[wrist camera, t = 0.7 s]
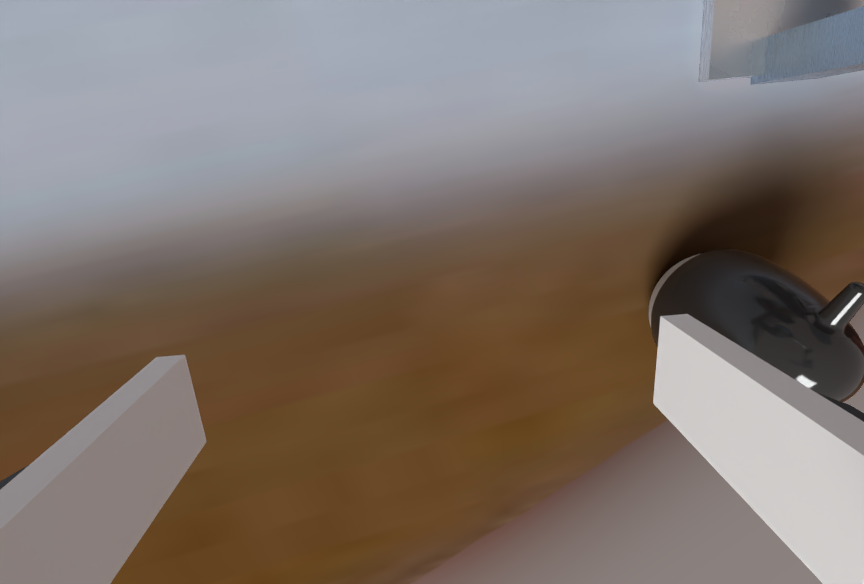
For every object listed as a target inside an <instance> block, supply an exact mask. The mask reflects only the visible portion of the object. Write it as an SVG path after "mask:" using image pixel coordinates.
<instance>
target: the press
mask: <svg viewBox="0 0 864 584" xmlns="http://www.w3.org/2000/svg"><path fill="white" fill-rule="evenodd" d="M862 70H864V0H705V1H704V15H703V29H702V44H701V58H700V72H699V82H705V81H716V80H727V79H737V78H748V77H752V78H751V84H761V83H772V82H782V81H793V80H804V79H815V78H821V77H827V76H833V75H839V74H844V73H850V72H856V71H862Z"/></svg>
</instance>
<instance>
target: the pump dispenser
mask: <svg viewBox="0 0 864 584" xmlns="http://www.w3.org/2000/svg"><path fill="white" fill-rule="evenodd" d="M863 304H864V284H863V283H860V282H852V283H850V284H848V285H847V286H846V287H845V288H844V289H843V290H842V291H841V292H840V293H839V294H838V295H837V296H836V297H835V298H834V299H833V300H832V301H829V300H828V299H826V298H825V297H824V296H823V295H822V294H821V293H820V292H818V291H817V290H816V289H815V288H814V287H812V286H811V285H810V284H808V283H807V282H806V281H804V280H803V279H801V278H800V277H798V276H797V275H795V274H794V273H792V272H790V271H789V270H787V269H785V268H783V267H782V266H780V265H778V264H776V263H774V262H772V261H770V260H768V259H766V258H764V257H761V256H759V255H756V254H753V253H750V252H747V251H743V250H738V249H718V250H712V251H708V252H705V253H702V254H698V255H694V256H691V257H689V258H686V259H684V260H682V261H680V262H679V263H677V264H676V265H674V266H673V267H671V268H670V269H669V270H668V271H667V272H666V273H665V274H664V275H663V276H662V277H661V279H660V280H659V281H658V283H657V284H656V286H655V288H654V290H653V292H652V295H651V298H650V303H649V322H650V326H651V330H652V335H653V338H654V341H655V343H656V345H657V347H658V339H659V327H660V316H668V315H680V314H688V315H690V316H692V317H693V318H695V319H697V320H698V321H700V322H702V323H703V324H705V325H706V326H708V327H710V328H711V329H713V330H715V331H716V332H718V333H719V334H721V335H723V336H724V337H726V338H728V339H729V340H731V341H733V342H734V343H736V344H737V345H739V346H741V347H742V348H744V349H746V350H747V351H749V352H751V353H752V354H754V355H755V356H757V357H759V358H760V359H762V360H764V361H765V362H767V363H769V364H770V365H772V366H773V367H775V368H777V369H778V370H780V371H782V372H783V373H785V374H786V375H788V376H790V377H791V378H793V379H795V380H796V381H798V382H800V383H801V384H803V385H804V386H806V387H808V388H809V389H811V390H813V391H814V392H816V393H818V394H819V393H820V394H822V395H825V396H827V397H830V398H833V399H835V400H838V401H840V402H845V401H846V400H848V399H850V398H851V397H852V396H854V395H855V394H856V393H857V392H858V390H859V389H860V388H861V387H862V385H863V383H864V345H863V343H862V341H861V339H860V337H859V335H858V334H857V332H856V331H855V329H854V328H853V326H852V325H851V324H850V323H849V322H850V321H851V319H852V318H853V317H854V316H855V314H856V313H857V312H858V310H859V309H860V308H861V307H862V305H863Z"/></svg>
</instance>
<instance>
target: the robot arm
mask: <svg viewBox="0 0 864 584" xmlns="http://www.w3.org/2000/svg"><path fill="white" fill-rule="evenodd" d="M653 404H654V405H655V406H656V407H657V408H658V409H659V410H660V411H661V412H662V413H663V414H664V415H665V416H666V417H667V418H668V419H669V421H670V422H671V423H672V424H673V425H674V426H675V427H676V428H677V429H678V430H679V431H680V432H681V433H682V434H683V435H684V436H685V438H687V440H688V441H689V442H690V443H691V444H692V445H693V446H694V447H695V448H696V449H697V450H698V451H699V452H700V453H701V454H702V456H703V457H704V458H705V459H706V460H707V461H708V462H709V463H710V464H711V465H712V466H713V467H714V468H715V469H716V470H717V472H718V473H719V474H720V475H721V476H722V477H723V478H724V479H725V480H726V481H727V482H728V483H729V484H730V485H731V486H732V487H733V489H734V490H735V491H736V492H737V493H738V494H739V495H740V496H741V497H742V498H743V499H744V500H745V501H746V502H747V503H748V504H749V506H750V507H751V508H752V509H753V510H754V511H755V512H756V513H757V514H758V515H759V516H760V517H761V518H762V519H763V520H764V522H766V524H767V525H768V526H769V527H770V528H771V529H772V530H773V531H774V532H775V533H776V534H777V535H778V536H779V537H780V538H781V540H782V541H783V542H784V543H785V544H786V545H787V546H788V547H789V548H790V549H791V550H792V551H793V552H794V553H795V554H796V556H797V557H798V558H799V559H800V560H801V561H802V562H803V563H804V564H805V565H806V566H807V567H808V568H809V569H810V570H811V571H812V572H813V573H814V575H816V577H817V578H818V579H819V580H820V581H821V582H822V583H823V584H864V413H862V412H861V411H859V410H857V409H855V408H854V407H852V406H850V405H848V404H846V403H843V402H840V401H838V400H835V399H833V398H830V397H827V396H825V395H822V394H820V393H819V394H818V393H816V392H814V391H813V390H811V389H809V388H808V387H806V386H804V385H803V384H801V383H800V382H798V381H796V380H795V379H793V378H791V377H790V376H788V375H786V374H785V373H783V372H782V371H780V370H778V369H777V368H775V367H773V366H772V365H770V364H769V363H767V362H765V361H764V360H762V359H760V358H759V357H757V356H755V355H754V354H752V353H751V352H749V351H747V350H746V349H744V348H742V347H741V346H739V345H737V344H736V343H734V342H733V341H731V340H729V339H728V338H726V337H724V336H723V335H721V334H719V333H718V332H716V331H715V330H713V329H711V328H710V327H708V326H706V325H705V324H703V323H702V322H700V321H698V320H697V319H695V318H693V317H692V316H690V315H688V314H680V315H668V316H660V327H659V339H658V351H657V363H656V375H655V388H654V400H653ZM205 443H206V438H205V434H204V430H203V426H202V422H201V418H200V414H199V410H198V405H197V401H196V397H195V393H194V389H193V385H192V381H191V377H190V373H189V369H188V365H187V361H186V357H185V355H178V356H165V357H156V358H155V359H154V360H153V361H151V362H150V363H149V364H148V365H147V366H146V367H144V368H143V369H142V370H141V371H140V372H138V373H137V374H136V375H135V376H134V377H133V378H131V379H130V380H129V381H128V382H127V383H126V384H124V385H123V386H122V387H121V388H120V389H118V390H117V391H116V392H115V393H114V394H113V395H111V396H110V397H109V398H108V399H107V400H105V401H104V402H103V403H102V404H101V405H100V406H98V407H97V408H96V409H95V410H94V411H92V412H91V413H90V414H89V415H88V416H87V417H85V418H84V419H83V420H82V421H81V422H80V423H78V424H77V425H76V426H75V427H74V428H72V429H71V430H70V431H69V432H68V433H67V434H65V435H64V436H63V437H62V438H61V439H59V440H58V441H57V442H56V443H55V444H54V445H52V446H51V447H50V448H49V449H48V450H46V451H45V452H44V453H43V454H42V455H41V456H39V457H38V458H37V459H36V460H35V461H33V462H32V463H31V464H30V465H28V466H26V467H25V468H23V469H21V470H19V471H18V472H16V473H14V474H13V475H11V476H9V477H7V478H6V479H4V480H2V481H1V482H0V584H110V583H111V582H112V580H113V579H114V577H115V576H116V574H117V573H118V571H119V570H120V568H121V567H122V565H123V564H124V562H125V561H126V560H127V558H128V557H129V555H130V554H131V552H132V551H133V549H134V548H135V546H136V545H137V543H138V542H139V540H140V539H141V537H142V536H143V534H144V533H145V532H146V530H147V529H148V527H149V526H150V524H151V523H152V521H153V520H154V518H155V517H156V515H157V514H158V512H159V511H160V509H161V508H162V506H163V505H164V503H165V502H166V501H167V499H168V498H169V496H170V495H171V493H172V492H173V490H174V489H175V487H176V486H177V484H178V483H179V481H180V480H181V478H182V477H183V475H184V474H185V473H186V471H187V470H188V468H189V467H190V465H191V464H192V462H193V461H194V459H195V458H196V456H197V455H198V453H199V452H200V450H201V449H202V447H203V446H204V445H205Z"/></svg>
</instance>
